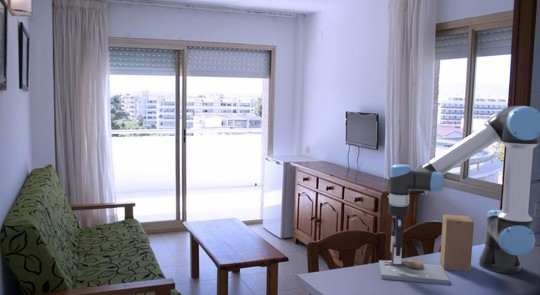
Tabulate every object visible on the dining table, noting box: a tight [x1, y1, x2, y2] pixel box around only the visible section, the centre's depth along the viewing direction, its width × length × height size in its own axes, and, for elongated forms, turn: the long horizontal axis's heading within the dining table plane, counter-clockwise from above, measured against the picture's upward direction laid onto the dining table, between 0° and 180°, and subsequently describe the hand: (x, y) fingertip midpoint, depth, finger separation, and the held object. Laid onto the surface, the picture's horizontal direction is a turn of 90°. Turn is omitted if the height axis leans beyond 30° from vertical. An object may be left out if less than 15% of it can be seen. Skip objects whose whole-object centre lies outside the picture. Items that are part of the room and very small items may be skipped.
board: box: [378, 259, 451, 285], centre depth 181 cm, size 24×16×2 cm, turn 80°
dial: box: [382, 240, 424, 269], centre depth 185 cm, size 15×7×9 cm, turn 80°
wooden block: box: [439, 213, 475, 272], centre depth 189 cm, size 10×10×20 cm
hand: (395, 257), depth 186 cm, fingers open, 13 cm apart
